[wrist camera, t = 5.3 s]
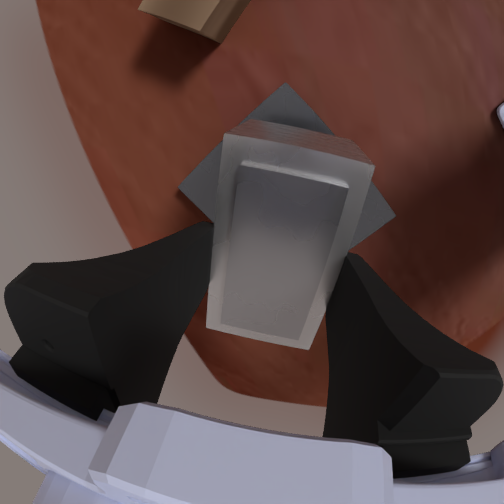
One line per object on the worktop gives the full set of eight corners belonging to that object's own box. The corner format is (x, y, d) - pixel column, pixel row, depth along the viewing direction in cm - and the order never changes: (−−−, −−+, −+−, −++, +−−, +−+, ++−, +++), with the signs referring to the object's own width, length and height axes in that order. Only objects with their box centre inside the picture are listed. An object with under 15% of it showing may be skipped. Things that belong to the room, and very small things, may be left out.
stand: (391, 208, 17) (396, 215, 16) (286, 283, 21) (285, 293, 20) (286, 83, 15) (285, 82, 14) (184, 181, 19) (177, 187, 18)
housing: (310, 286, 16) (308, 355, 12) (229, 269, 16) (203, 332, 12) (352, 140, 12) (377, 168, 8) (250, 118, 12) (221, 134, 8)
